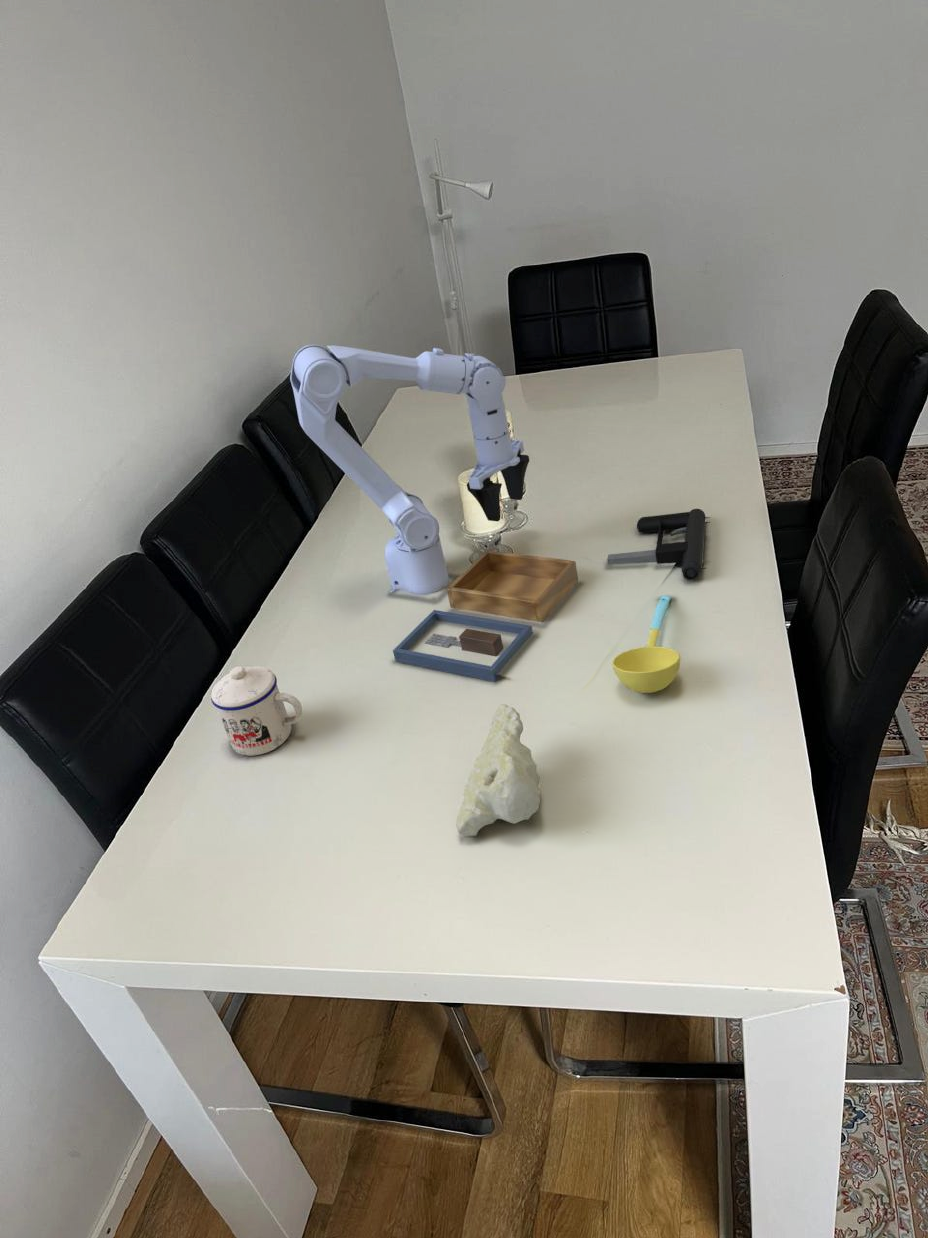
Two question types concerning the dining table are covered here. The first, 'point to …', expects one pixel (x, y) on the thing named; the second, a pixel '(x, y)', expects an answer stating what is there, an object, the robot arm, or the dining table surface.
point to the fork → (471, 642)
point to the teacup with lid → (254, 709)
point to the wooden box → (513, 585)
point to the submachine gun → (678, 552)
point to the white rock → (500, 778)
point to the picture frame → (460, 666)
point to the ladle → (649, 660)
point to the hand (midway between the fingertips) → (505, 509)
